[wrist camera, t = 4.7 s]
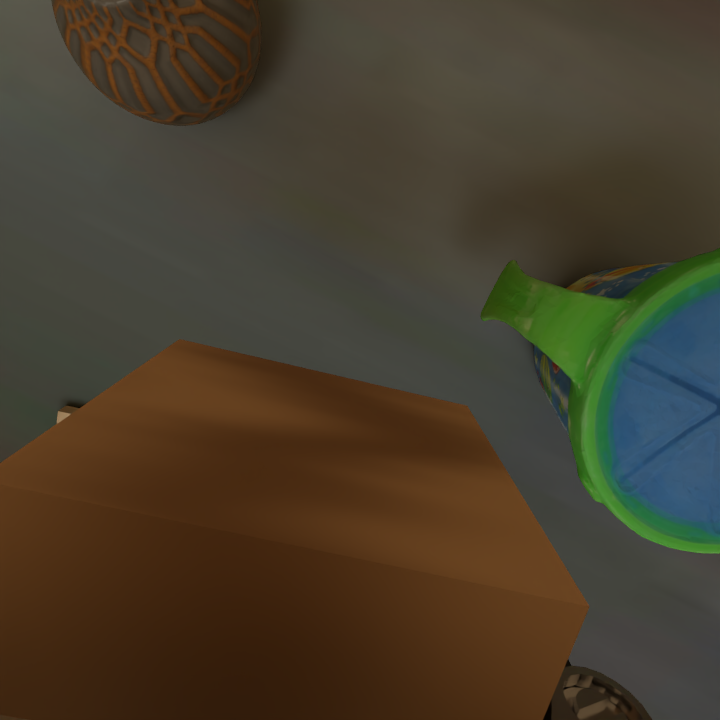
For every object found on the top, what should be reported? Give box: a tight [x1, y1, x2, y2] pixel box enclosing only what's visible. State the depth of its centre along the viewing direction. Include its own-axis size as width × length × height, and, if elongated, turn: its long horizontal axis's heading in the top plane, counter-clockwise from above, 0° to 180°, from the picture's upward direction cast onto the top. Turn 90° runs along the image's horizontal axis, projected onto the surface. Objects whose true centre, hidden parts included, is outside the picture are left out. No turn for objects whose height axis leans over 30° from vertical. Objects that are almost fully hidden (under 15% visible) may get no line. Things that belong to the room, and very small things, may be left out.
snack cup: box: [481, 248, 720, 553], centre depth 22 cm, size 16×10×10 cm
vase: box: [51, 0, 262, 126], centre depth 19 cm, size 7×7×9 cm
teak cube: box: [0, 339, 589, 720], centre depth 9 cm, size 6×6×6 cm
